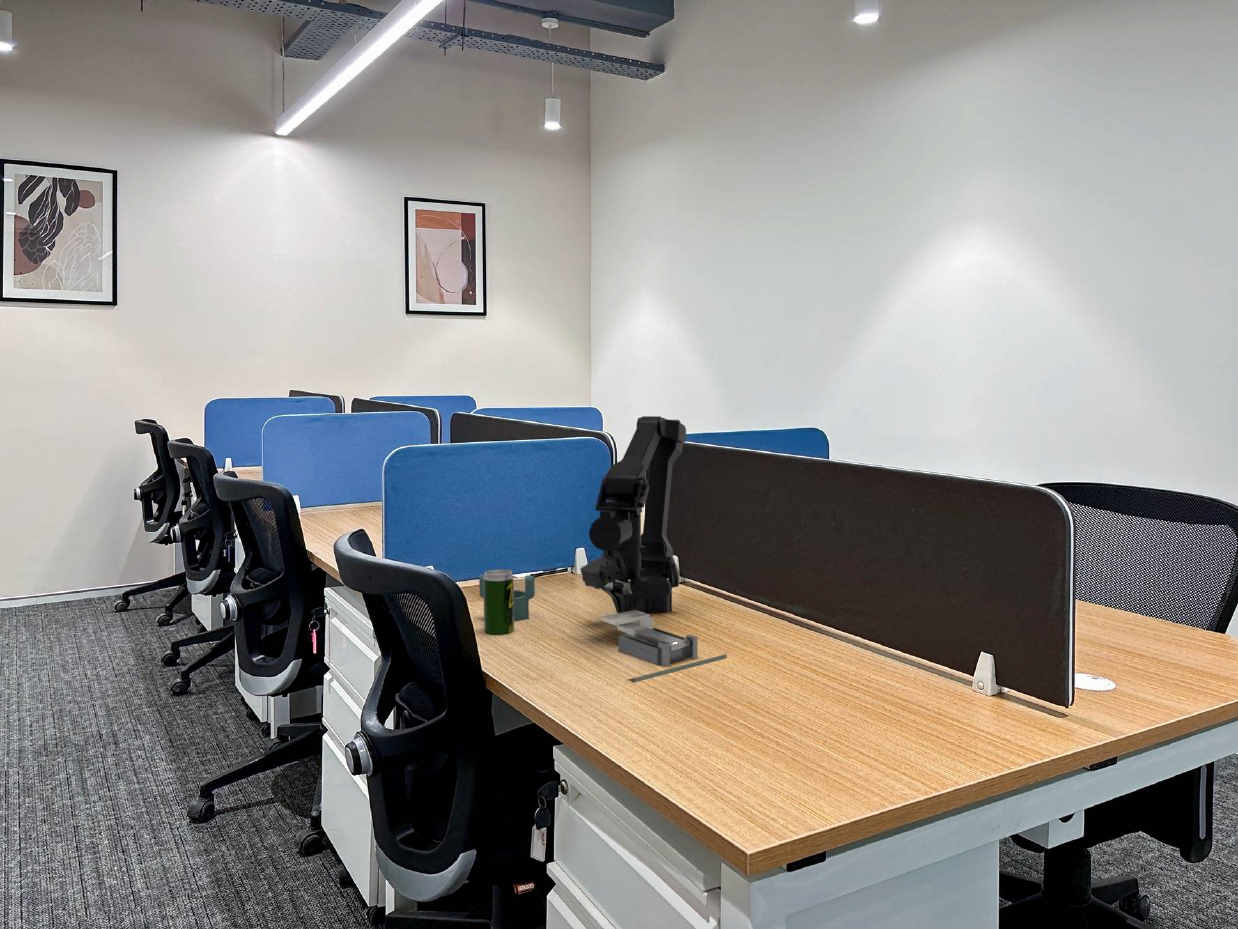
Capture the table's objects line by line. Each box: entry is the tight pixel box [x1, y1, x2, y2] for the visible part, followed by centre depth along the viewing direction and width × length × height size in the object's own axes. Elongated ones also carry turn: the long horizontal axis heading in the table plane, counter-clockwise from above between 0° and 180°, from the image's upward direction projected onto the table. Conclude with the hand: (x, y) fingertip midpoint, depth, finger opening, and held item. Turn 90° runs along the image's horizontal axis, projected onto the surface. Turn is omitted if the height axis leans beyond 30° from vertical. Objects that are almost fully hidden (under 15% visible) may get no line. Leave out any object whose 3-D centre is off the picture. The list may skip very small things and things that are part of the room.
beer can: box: [483, 569, 515, 636], centre depth 168 cm, size 5×5×12 cm
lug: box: [600, 610, 655, 637], centre depth 162 cm, size 8×4×4 cm, turn 128°
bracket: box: [478, 574, 536, 623], centre depth 181 cm, size 9×9×9 cm
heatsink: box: [617, 627, 698, 668], centre depth 154 cm, size 8×11×4 cm
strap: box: [616, 622, 690, 652], centre depth 155 cm, size 4×15×1 cm, turn 38°
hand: (625, 627), depth 167 cm, fingers closed
